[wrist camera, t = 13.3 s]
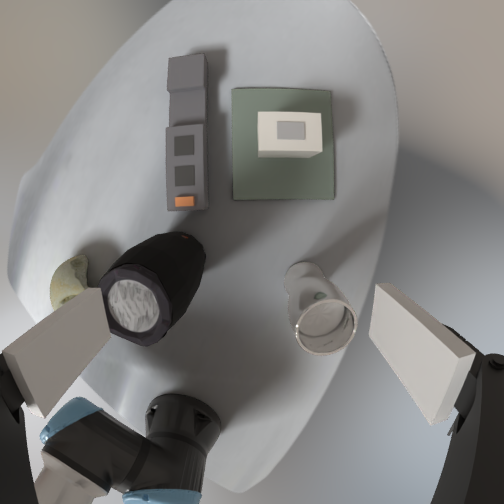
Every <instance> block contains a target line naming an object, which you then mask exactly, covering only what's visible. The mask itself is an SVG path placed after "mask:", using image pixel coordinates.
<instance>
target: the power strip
mask: <svg viewBox="0 0 504 504" xmlns="http://www.w3.org/2000/svg"><path fill="white" fill-rule="evenodd" d="M207 89H208V62H207V59H206V57H205V54H194V55H186V56H179V57H172V58H169V63H168V79H167V91H168V92H169V93H170V108H169V127H167V128H166V187H167V210H168V211H187V210H205V209H207V208H209V196H208V151H207Z"/></svg>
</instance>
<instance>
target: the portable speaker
mask: <svg viewBox="0 0 504 504" xmlns="http://www.w3.org/2000/svg"><path fill="white" fill-rule="evenodd" d="M205 258H206V254H205V252H204V249H203V246H202V245H201V244H200V243H199V242H198V241H197V240H196V239H195V238H194V237H193V236H191V235H189V234H186V233H184V232H170V233H163V234H157V235H155V236H153V237H151V238H149V239H147V240H145V241H143V242H142V243H140V244H138V245H136V246H134V247H132V248H130V249H129V250H127V251H126V252H125V253H124V254H123V255H122V256H121V257H120V258H119V259H118V260H117V261H116V262H115V263H114V264H113V265H112V267H111V268H110V269H109V270H108V271H107V273H106V274H104V276H103V277H102V278H101V280H100V282H99V285H98V287H97V288H101V292H102V298H103V303H104V308H105V313H106V317H107V322H108V326H109V330H110V333H112V334H115V335H117V336H119V337H121V338H124V339H126V340H129V341H131V342H133V343H136V344H138V345H141V346H149V345H151V344H154V343H156V342H158V341H159V340H160V339H161V338H163V337H164V336H165V335H166V333H167V331H168V330H169V329H170V328H171V327H172V326H173V325H174V324H175V323H176V322H177V321H178V320H179V319H180V318H181V317H182V315H183V314H184V313H185V312H186V310H187V308H188V306H189V304H190V302H191V301H192V299H193V297H194V295H195V293H196V291H197V289H198V287H199V285H200V282H201V278H202V274H203V269H204V263H205Z"/></svg>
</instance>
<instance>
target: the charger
mask: <svg viewBox="0 0 504 504" xmlns="http://www.w3.org/2000/svg"><path fill="white" fill-rule="evenodd" d="M257 133H258V158H310V157H312V156H314V155H316V154H319V153H321V152H322V126H321V113H307V112H258V123H257Z"/></svg>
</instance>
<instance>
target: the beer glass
mask: <svg viewBox="0 0 504 504" xmlns="http://www.w3.org/2000/svg"><path fill="white" fill-rule="evenodd" d="M284 287H285V290H286V292H287V294H288V295H289V299H288V315H289V320H290V324H291V327H292V329H293V332H294V334H295V336H296V340H297V342H298V344H299V345H300V347H301V348H302V349H303V350H305V351H306V352H308V353H310V354H313V355H319V356H324V355H330V354H333V353H336V352H338V351H340V350H342V349H343V348H344V347H346V346H347V345H348V344H349V343H350V341H351V340H352V339H353V337H354V335H355V333H356V330H357V316H356V313H355V311H354V310H353V308H352V307H351V305H350V303H349V301H348V299H347V298H346V296H345V295H344V293H343V292H342V291H341V290H340V289H339V288H338V287H337V286H336V285H335V284H334V283H332V282H331V281H329V280H328V279H326V278H324V275H323V272H322V270H321V269H320V268H319V267H318V266H317V265H316V264H314V263H311V262H299V263H296V264H294V265H293V266H291V267H290V268H289V269H288V271H287V272H286V274H285V277H284Z"/></svg>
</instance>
